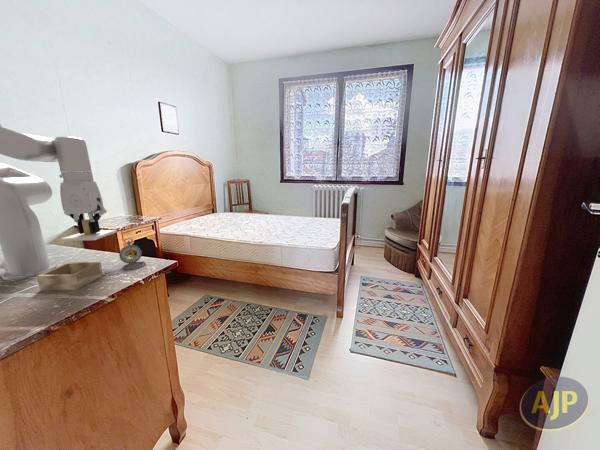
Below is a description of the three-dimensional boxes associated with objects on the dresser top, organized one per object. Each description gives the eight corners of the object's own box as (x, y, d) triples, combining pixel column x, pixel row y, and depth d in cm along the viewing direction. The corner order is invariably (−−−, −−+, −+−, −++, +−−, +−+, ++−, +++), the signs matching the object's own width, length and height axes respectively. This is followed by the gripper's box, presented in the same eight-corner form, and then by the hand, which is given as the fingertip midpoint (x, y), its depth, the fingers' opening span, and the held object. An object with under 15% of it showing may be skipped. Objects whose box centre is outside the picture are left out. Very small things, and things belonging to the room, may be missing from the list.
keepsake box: (40, 292, 70) (36, 276, 69) (72, 277, 79) (68, 262, 78) (76, 291, 70) (72, 275, 69) (103, 276, 80) (100, 262, 78)
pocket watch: (135, 272, 83) (130, 243, 80) (114, 270, 84) (108, 242, 82) (153, 263, 90) (149, 237, 88) (134, 261, 92) (130, 236, 90)
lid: (61, 241, 79) (56, 223, 77) (87, 232, 89) (84, 216, 87) (94, 240, 79) (90, 222, 77) (117, 231, 89) (114, 216, 87)
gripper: (40, 178, 75) (55, 236, 80) (94, 177, 76) (106, 235, 80) (62, 177, 83) (75, 230, 87) (112, 176, 83) (122, 229, 87)
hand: (90, 232), depth 83 cm, fingers closed on lid, 3 cm apart
